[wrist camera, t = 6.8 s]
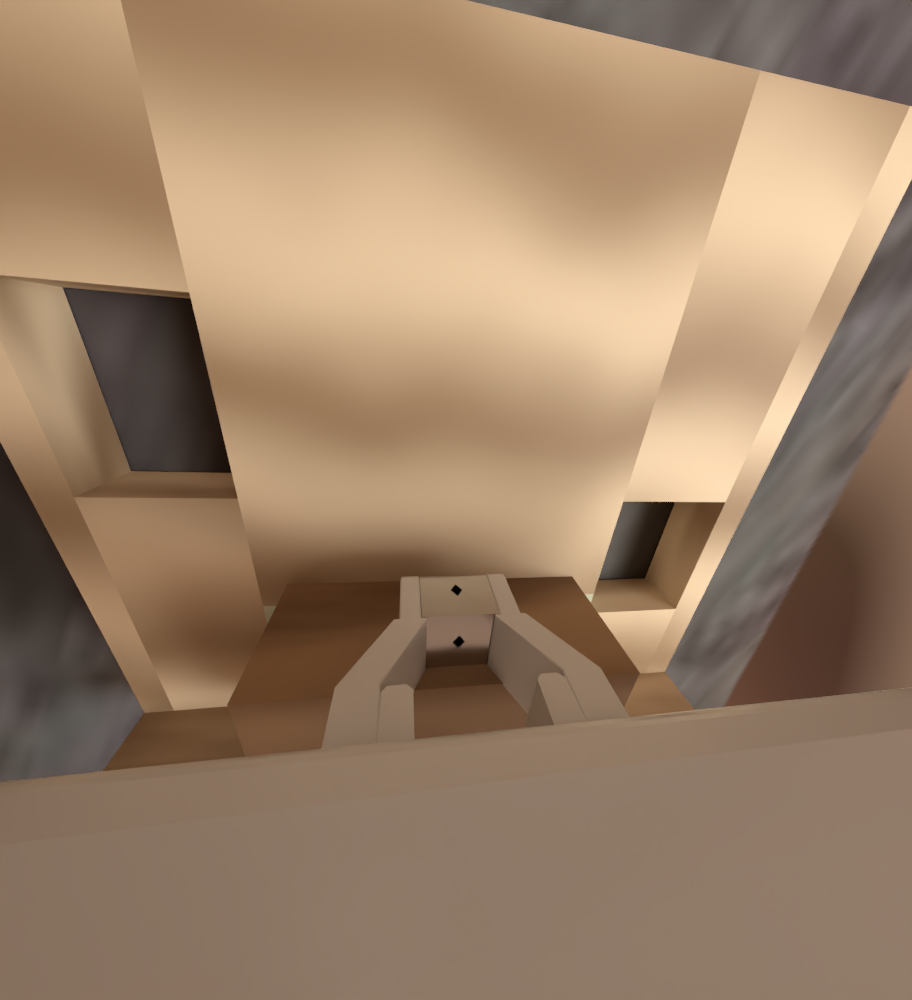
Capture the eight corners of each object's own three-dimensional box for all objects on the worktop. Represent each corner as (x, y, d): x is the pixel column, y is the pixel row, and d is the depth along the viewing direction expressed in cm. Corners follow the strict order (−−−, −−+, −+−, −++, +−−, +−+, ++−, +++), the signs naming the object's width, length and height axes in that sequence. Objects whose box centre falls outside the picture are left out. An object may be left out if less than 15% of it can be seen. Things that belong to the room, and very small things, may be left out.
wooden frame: (-119, -36, 6) (-1571, -1075, 2) (841, 158, 9) (1238, -12, 5) (184, 681, 15) (85, 831, 10) (632, 651, 18) (707, 754, 13)
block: (287, 584, 11) (226, 704, 7) (572, 576, 12) (639, 672, 9) (306, 685, 13) (266, 816, 9) (546, 668, 14) (593, 775, 11)
